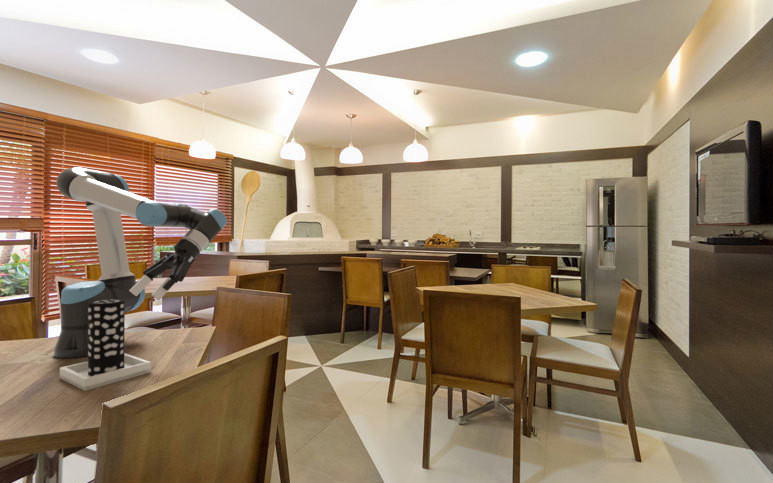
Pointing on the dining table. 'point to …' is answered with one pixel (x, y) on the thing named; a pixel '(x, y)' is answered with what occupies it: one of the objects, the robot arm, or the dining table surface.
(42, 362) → the dining table surface
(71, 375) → the tray
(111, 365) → the white-spotted black cylinder
